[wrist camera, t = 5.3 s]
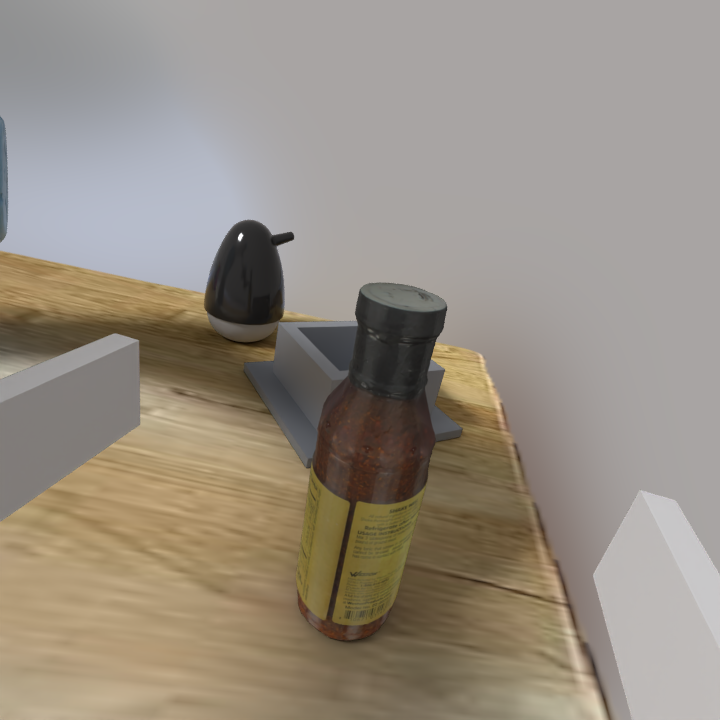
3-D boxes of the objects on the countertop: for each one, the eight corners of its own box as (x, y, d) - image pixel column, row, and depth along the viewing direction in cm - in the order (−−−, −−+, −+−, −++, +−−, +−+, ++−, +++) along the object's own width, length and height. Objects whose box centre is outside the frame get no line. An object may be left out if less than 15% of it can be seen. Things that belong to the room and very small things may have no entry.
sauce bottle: (401, 580, 30) (493, 300, 22) (372, 668, 25) (481, 337, 17) (313, 542, 32) (369, 266, 24) (268, 616, 26) (320, 290, 18)
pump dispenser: (288, 352, 59) (304, 235, 53) (204, 349, 55) (211, 222, 49) (275, 322, 68) (287, 218, 61) (201, 318, 64) (206, 206, 57)
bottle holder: (306, 468, 39) (318, 398, 36) (243, 370, 52) (248, 313, 49) (460, 436, 48) (479, 379, 45) (373, 360, 62) (384, 312, 59)
